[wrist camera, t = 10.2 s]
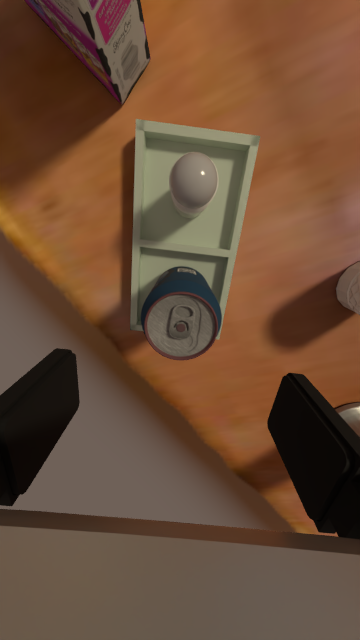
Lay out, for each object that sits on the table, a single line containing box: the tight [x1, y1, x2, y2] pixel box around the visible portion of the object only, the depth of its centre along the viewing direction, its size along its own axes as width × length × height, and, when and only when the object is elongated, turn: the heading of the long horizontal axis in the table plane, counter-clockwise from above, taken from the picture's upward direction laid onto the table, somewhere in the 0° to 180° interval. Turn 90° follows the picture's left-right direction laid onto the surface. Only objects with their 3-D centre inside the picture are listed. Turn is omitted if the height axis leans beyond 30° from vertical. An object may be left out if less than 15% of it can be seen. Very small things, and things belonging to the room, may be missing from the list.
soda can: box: [141, 266, 222, 360], centre depth 22 cm, size 7×7×12 cm
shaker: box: [169, 152, 218, 218], centre depth 19 cm, size 4×4×9 cm
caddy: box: [130, 119, 260, 339], centre depth 25 cm, size 22×12×2 cm, turn 174°
